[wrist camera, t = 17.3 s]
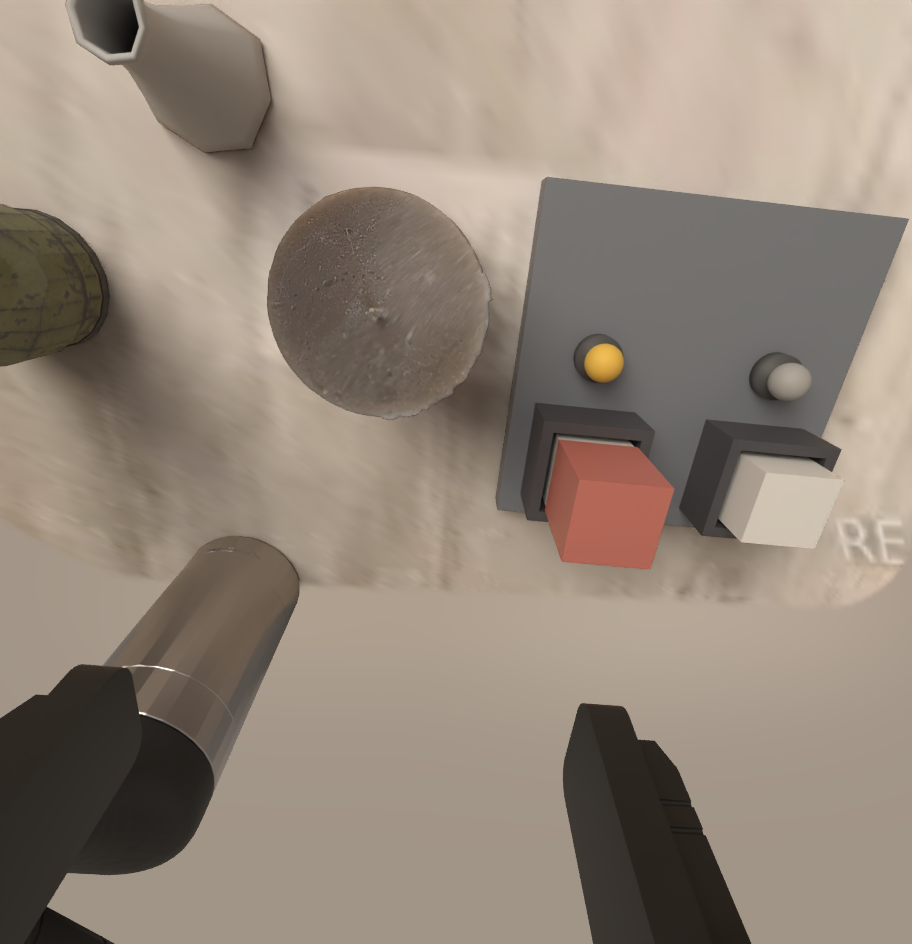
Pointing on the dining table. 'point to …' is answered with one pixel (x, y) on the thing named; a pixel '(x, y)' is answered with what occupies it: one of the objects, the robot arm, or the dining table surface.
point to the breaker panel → (686, 334)
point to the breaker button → (779, 499)
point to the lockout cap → (606, 504)
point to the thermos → (46, 286)
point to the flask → (182, 66)
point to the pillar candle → (378, 302)
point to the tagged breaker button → (574, 438)
